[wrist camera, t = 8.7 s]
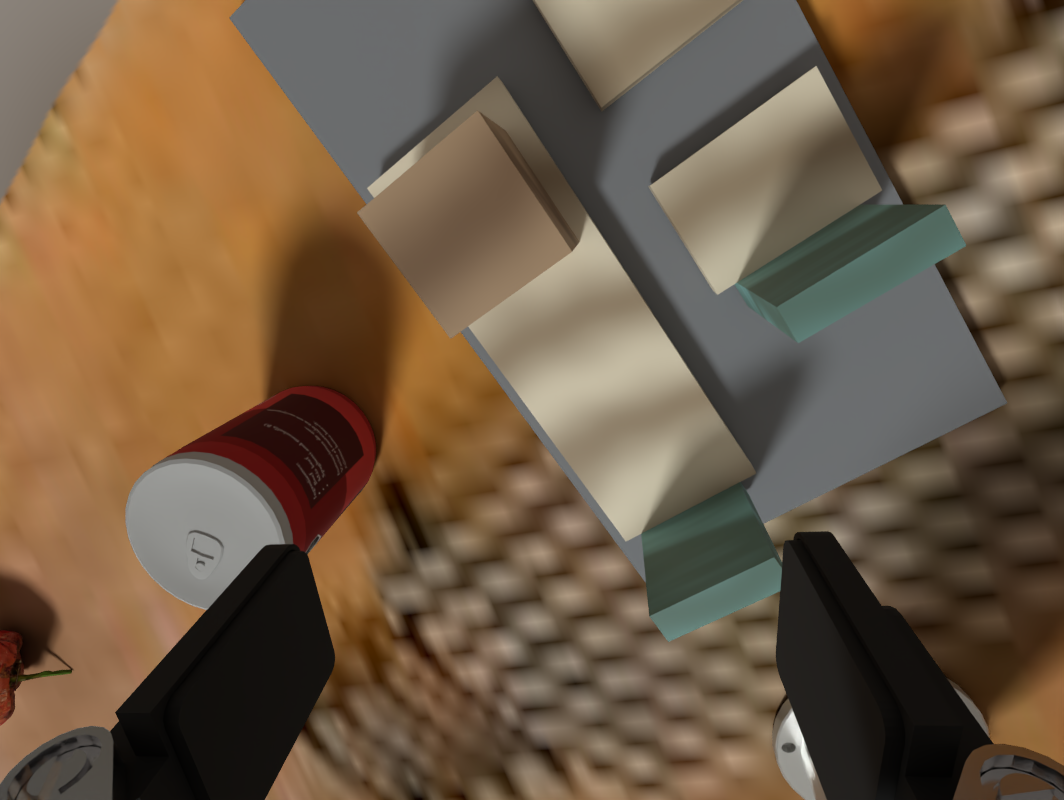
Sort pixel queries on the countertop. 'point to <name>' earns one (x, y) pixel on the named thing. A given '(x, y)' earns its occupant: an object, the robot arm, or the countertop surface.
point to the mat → (649, 214)
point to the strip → (623, 406)
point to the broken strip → (761, 177)
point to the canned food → (249, 490)
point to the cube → (469, 224)
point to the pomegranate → (14, 672)
